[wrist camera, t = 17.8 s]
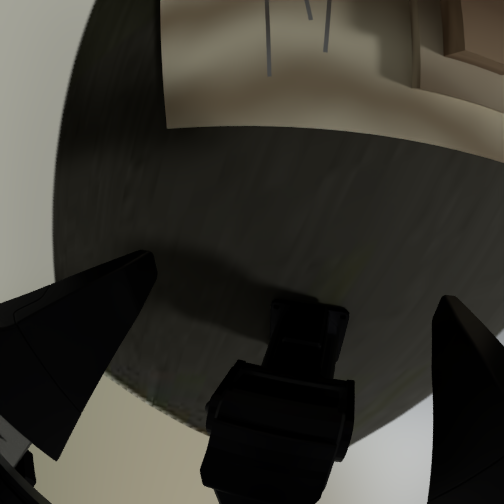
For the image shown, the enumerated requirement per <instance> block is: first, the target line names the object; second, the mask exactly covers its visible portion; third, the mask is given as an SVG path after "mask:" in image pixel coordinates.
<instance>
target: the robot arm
mask: <svg viewBox="0 0 504 504" xmlns="http://www.w3.org/2000/svg"><path fill="white" fill-rule="evenodd" d="M156 279H157V269H156V264H155V260H154V256H153V253H152V252H150V251H146V250H138V251H136V252H133V253H130V254H128V255H125V256H122V257H119V258H117V259H114V260H111V261H109V262H106V263H104V264H101V265H98V266H96V267H93V268H91V269H88V270H85V271H83V272H80V273H78V274H75V275H73V276H70V277H68V278H65V279H63V280H60V281H58V282H55V283H53V284H51V285H48V286H45V287H43V288H41V289H38V290H35V291H33V292H30V293H28V294H25V295H22V296H20V297H17V298H14V299H11V300H9V301H6V302H3V303H0V504H51V503H50V502H49V501H48V500H47V499H46V498H44V497H43V496H42V495H41V494H40V493H39V492H38V491H37V490H36V489H35V488H34V485H35V484H36V477H35V471H34V463H33V454H32V453H31V452H30V451H29V450H28V448H29V447H30V445H31V444H32V443H33V444H34V445H35V446H36V447H38V448H39V449H40V450H42V451H43V452H44V453H45V454H47V455H48V456H49V457H51V458H52V459H53V460H55V461H57V460H58V459H59V457H60V455H61V453H62V451H63V449H64V447H65V445H66V443H67V441H68V439H69V437H70V435H71V433H72V431H73V429H74V427H75V425H76V423H77V421H78V419H79V417H80V416H81V413H82V412H83V410H84V408H85V406H86V404H87V402H88V400H89V398H90V397H91V395H92V393H93V391H94V389H95V388H96V386H97V384H98V382H99V381H100V379H101V377H102V375H103V374H104V372H105V370H106V368H107V367H108V365H109V363H110V361H111V360H112V358H113V356H114V355H115V353H116V351H117V349H118V348H119V346H120V344H121V343H122V341H123V339H124V338H125V336H126V334H127V333H128V331H129V330H130V328H131V326H132V325H133V323H134V321H135V320H136V318H137V316H138V315H139V313H140V311H141V309H142V307H143V305H144V303H145V301H146V299H147V297H148V295H149V293H150V291H151V289H152V287H153V285H154V283H155V281H156ZM276 305H279V306H276ZM341 315H345V316H341ZM348 320H349V312H348V311H347V310H345V309H339V308H332V307H325V306H318V305H311V304H305V303H298V302H292V301H286V300H279V299H275V300H273V301H272V304H271V324H270V343H269V345H268V348H267V351H266V354H265V356H264V359H263V362H262V365H261V366H260V365H255V364H251V363H246V361H243V360H239V359H238V360H237V362H236V363H235V365H234V366H233V367H232V368H231V369H230V371H229V372H228V374H227V375H226V377H225V378H224V379H223V381H222V382H221V384H220V385H219V387H218V388H217V390H216V391H215V392H214V394H213V395H212V397H211V399H210V401H209V402H208V403H207V404H206V406H205V411H206V413H207V420H206V430H207V433H208V434H210V438H209V443H208V447H207V450H206V454H205V456H204V459H203V462H202V465H201V468H200V474H201V479H202V483H203V485H204V486H206V487H209V488H212V489H214V491H215V494H216V496H217V499H218V501H219V504H315V503H316V502H317V501H318V500H319V499H320V498H321V495H322V492H323V491H324V489H325V487H326V484H327V481H328V478H329V475H330V472H331V469H332V466H333V463H334V461H336V462H341V461H342V460H343V459H344V457H345V455H346V452H347V450H348V447H349V444H350V440H351V436H352V431H353V425H354V404H355V382H354V380H347V381H345V380H337V379H333V377H334V371H335V364H336V362H337V361H338V358H339V354H340V351H341V347H342V343H343V340H344V336H345V332H346V328H347V324H348ZM432 387H433V450H432V465H431V476H430V486H429V494H428V502H427V504H504V346H503V345H502V344H501V343H500V342H499V340H498V339H497V338H496V337H495V336H494V335H493V334H492V333H491V332H490V331H489V330H488V329H487V327H486V326H485V325H484V324H483V323H482V322H481V321H480V320H479V319H478V318H477V317H476V316H475V315H474V314H473V313H472V312H471V311H470V310H469V309H468V308H467V307H466V306H465V305H464V304H463V303H462V302H461V301H460V300H459V299H458V298H457V297H455V296H450V295H444V296H442V298H441V300H440V302H439V304H438V307H437V309H436V311H435V314H434V316H433V319H432Z"/></svg>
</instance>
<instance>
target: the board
mask: <svg viewBox="0 0 504 504" xmlns="http://www.w3.org/2000/svg"><path fill="white" fill-rule="evenodd" d="M160 15H161V50H162V70H163V86H164V99H165V111H166V122H167V129H172V128H187V127H207V126H283V127H303V128H318V129H330V130H341V131H350V132H359V133H367V134H374V135H381V136H388V137H395V138H401V139H406V140H412V141H417V142H423V143H428V144H433V145H437V146H442V147H446V148H451V149H455V150H459V151H463V152H467V153H471V154H475V155H479V156H482V157H486V158H489V159H493V160H496V161H499V162H503V163H504V114H503V113H500V112H497V111H494V110H491V109H488V108H485V107H482V106H479V105H476V104H473V103H469V102H466V101H462V100H459V99H455V98H451V97H447V96H444V95H439V94H435V93H431V92H426V91H422V90H417V89H412V39H411V21H410V8H409V0H160Z"/></svg>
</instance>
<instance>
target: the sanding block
mask: <svg viewBox="0 0 504 504" xmlns="http://www.w3.org/2000/svg"><path fill="white" fill-rule="evenodd" d="M409 8H410V21H411V39H412V89H417V90H422V91H426V92H431V93H435V94H439V95H444V96H447V97H451V98H455V99H459V100H462V101H466V102H469V103H473V104H476V105H479V106H482V107H485V108H488V109H491V110H494V111H497V112H500V113H503V114H504V0H409Z"/></svg>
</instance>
